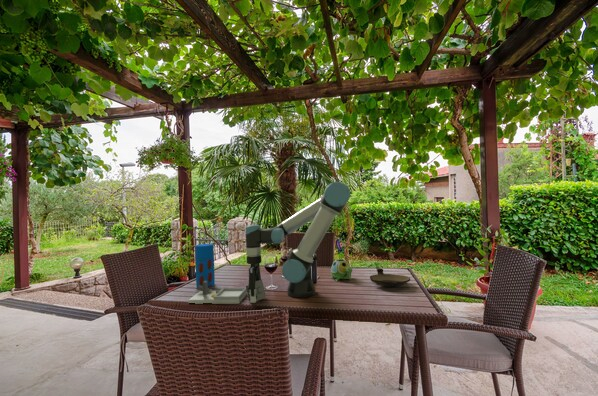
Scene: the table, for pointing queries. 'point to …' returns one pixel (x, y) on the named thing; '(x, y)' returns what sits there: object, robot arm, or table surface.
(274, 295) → the table surface
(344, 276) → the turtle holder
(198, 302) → the board
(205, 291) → the breaker tagged
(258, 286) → the electrical switch
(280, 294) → the table surface
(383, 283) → the oil lamp
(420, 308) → the table surface
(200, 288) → the breaker off
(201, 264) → the blue tall box
